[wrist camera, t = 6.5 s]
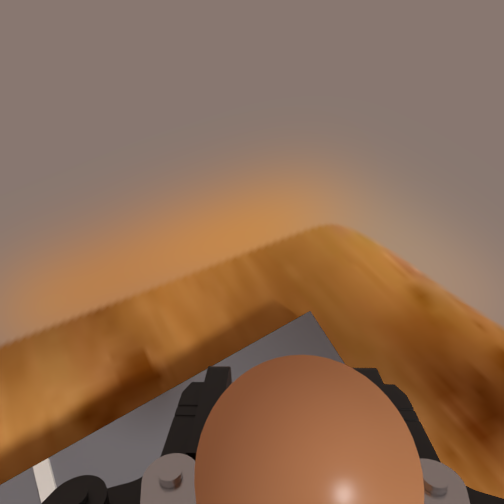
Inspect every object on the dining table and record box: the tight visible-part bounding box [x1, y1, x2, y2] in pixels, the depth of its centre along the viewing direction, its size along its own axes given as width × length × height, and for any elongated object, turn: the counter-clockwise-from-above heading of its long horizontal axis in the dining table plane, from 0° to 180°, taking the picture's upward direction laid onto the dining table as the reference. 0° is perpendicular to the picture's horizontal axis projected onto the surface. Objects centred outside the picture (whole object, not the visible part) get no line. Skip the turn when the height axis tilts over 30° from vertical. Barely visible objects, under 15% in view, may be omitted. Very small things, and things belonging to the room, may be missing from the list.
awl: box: [194, 355, 424, 504], centre depth 12 cm, size 4×4×12 cm
